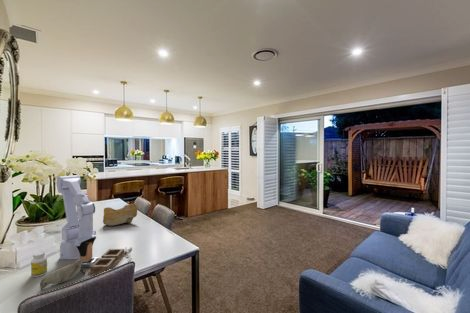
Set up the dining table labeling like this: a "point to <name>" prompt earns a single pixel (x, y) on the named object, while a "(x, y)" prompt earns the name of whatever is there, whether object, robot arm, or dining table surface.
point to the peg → (87, 253)
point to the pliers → (128, 253)
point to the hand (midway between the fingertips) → (85, 253)
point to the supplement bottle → (38, 264)
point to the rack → (107, 261)
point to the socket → (87, 266)
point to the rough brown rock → (119, 215)
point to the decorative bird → (62, 274)
